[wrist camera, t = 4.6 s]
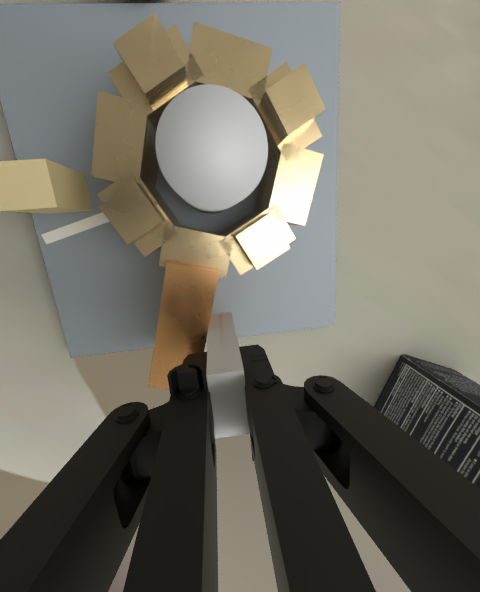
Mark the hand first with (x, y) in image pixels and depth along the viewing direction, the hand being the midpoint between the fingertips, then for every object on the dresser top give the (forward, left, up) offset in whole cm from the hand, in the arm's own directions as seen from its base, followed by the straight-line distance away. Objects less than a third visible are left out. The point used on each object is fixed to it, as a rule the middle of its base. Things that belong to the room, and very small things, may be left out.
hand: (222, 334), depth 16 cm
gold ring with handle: (-6, -1, -3) cm, 7 cm away
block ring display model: (-8, -1, -4) cm, 9 cm away
